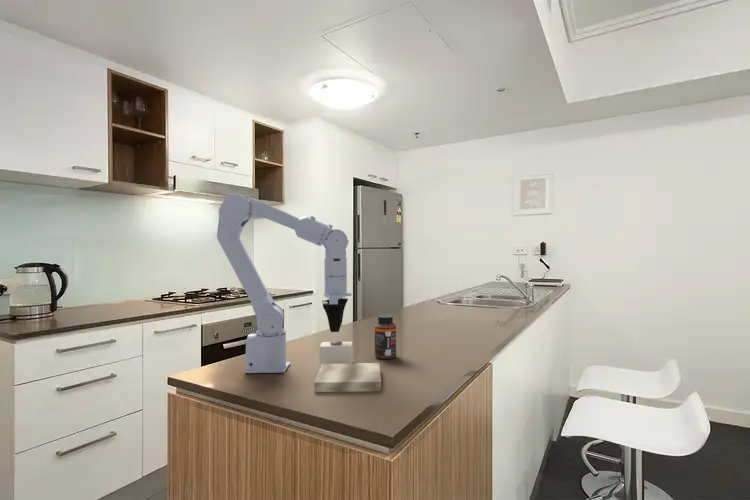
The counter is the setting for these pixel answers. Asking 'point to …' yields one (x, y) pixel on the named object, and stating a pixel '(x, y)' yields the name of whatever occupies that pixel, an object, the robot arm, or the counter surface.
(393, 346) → the supplement bottle
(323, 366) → the stand
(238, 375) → the counter surface
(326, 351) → the housing
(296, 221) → the robot arm
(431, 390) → the counter surface
